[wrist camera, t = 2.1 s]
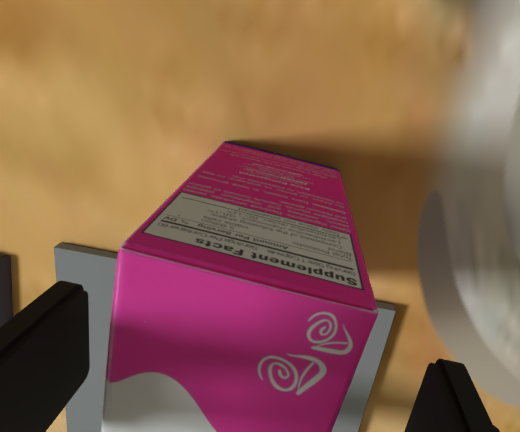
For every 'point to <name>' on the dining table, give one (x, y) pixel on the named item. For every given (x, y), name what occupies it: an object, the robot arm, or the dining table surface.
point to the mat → (100, 309)
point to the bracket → (5, 290)
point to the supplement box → (239, 302)
